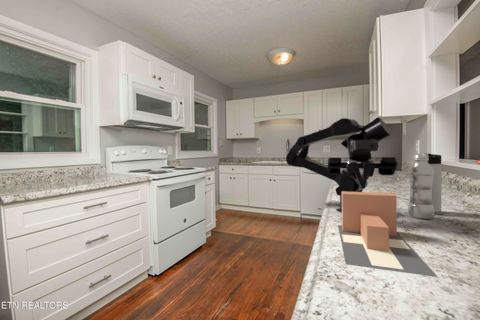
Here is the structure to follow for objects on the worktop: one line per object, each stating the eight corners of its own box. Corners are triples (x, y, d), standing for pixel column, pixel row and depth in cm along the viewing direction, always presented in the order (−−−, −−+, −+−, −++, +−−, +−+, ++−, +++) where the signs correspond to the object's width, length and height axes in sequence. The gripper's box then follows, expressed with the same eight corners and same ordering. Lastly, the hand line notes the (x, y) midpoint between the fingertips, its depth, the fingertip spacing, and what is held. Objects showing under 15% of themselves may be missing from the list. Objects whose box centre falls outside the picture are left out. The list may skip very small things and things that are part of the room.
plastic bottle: (412, 220, 67) (412, 154, 67) (404, 214, 74) (404, 154, 73) (438, 222, 65) (439, 154, 64) (428, 216, 72) (428, 154, 71)
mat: (337, 226, 64) (337, 225, 64) (395, 231, 59) (395, 229, 59) (345, 266, 42) (345, 264, 42) (438, 279, 37) (438, 276, 37)
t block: (341, 226, 63) (341, 191, 62) (391, 230, 58) (391, 193, 58) (346, 246, 50) (346, 201, 49) (411, 253, 45) (411, 205, 45)
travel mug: (438, 211, 77) (439, 153, 76) (443, 215, 71) (443, 153, 71) (416, 208, 80) (416, 153, 80) (418, 213, 75) (418, 154, 74)
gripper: (327, 132, 72) (328, 169, 62) (395, 129, 65) (409, 170, 55) (327, 156, 79) (328, 192, 69) (388, 155, 73) (399, 195, 63)
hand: (363, 187), depth 64 cm, fingers closed
